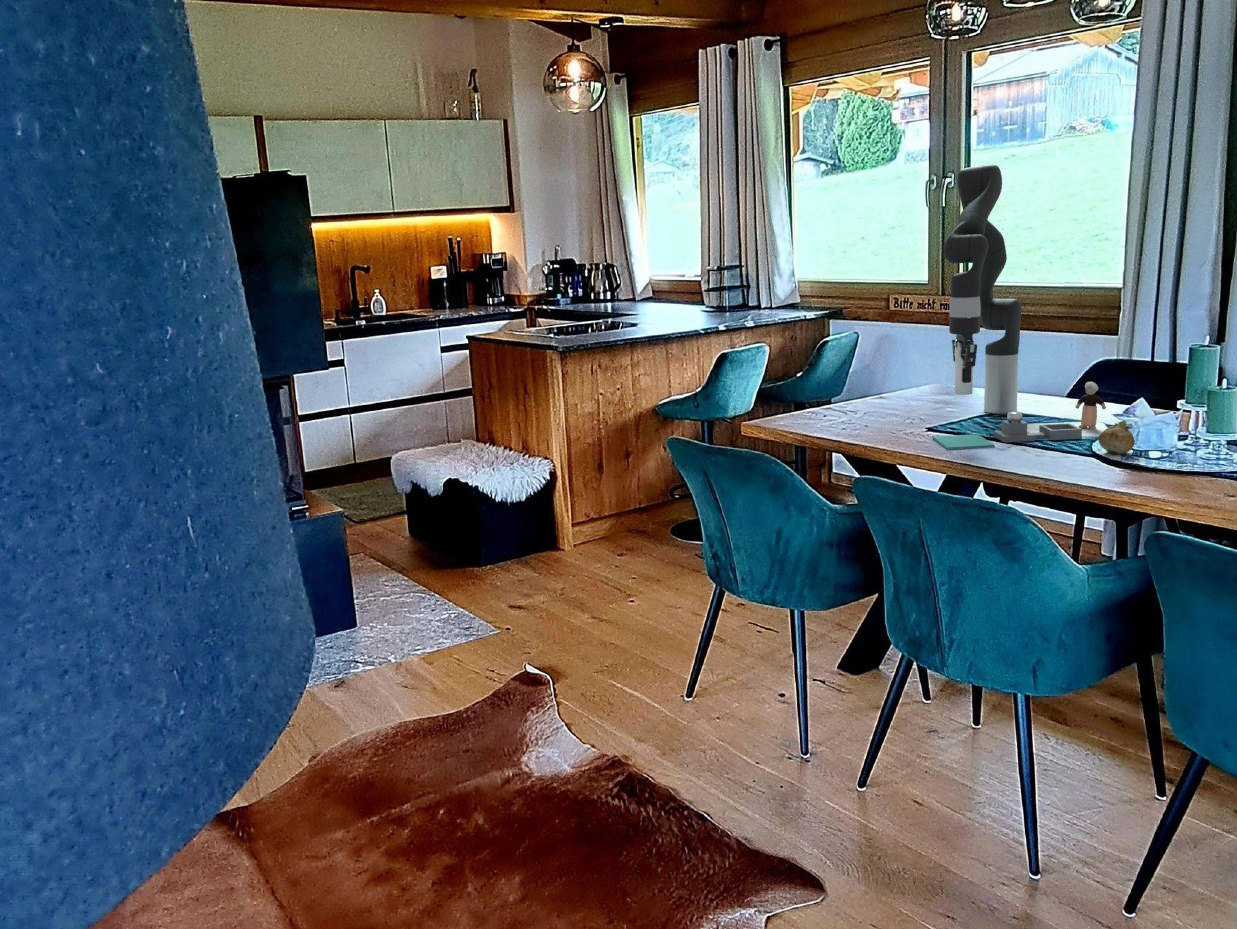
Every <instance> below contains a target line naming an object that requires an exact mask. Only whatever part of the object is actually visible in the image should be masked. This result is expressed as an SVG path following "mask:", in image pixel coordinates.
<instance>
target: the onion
mask: <svg viewBox="0 0 1237 929" xmlns="http://www.w3.org/2000/svg"><path fill="white" fill-rule="evenodd" d="M1126 423H1127V421H1126V420H1122V421H1118V422H1117V423H1114V424H1112V425H1111V426H1109V427H1107V428H1106V429H1104V430H1103V431H1102V432H1101V433H1100V434H1099V435H1098V443H1099V446H1101V448H1102V450H1105V451H1106V452H1107V453H1110V454H1111V453H1113V455H1123V454H1127V453H1129V452H1130V451H1131V450H1132V449H1133V448H1134V446H1135V444H1136V440H1135V437H1134V436H1133V433H1132V432H1131V431H1130V430H1131V429H1133V428H1134V424H1133V423H1127V424H1126Z"/></svg>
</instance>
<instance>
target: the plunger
mask: <svg viewBox="0 0 1237 929" xmlns="http://www.w3.org/2000/svg"><path fill="white" fill-rule="evenodd" d="M1006 414H1007V417H1006V420H1007V421H1011V423H1018V421H1022V420H1023V412H1022V411H1016V412H1008V413H1006Z"/></svg>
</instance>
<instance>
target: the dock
mask: <svg viewBox="0 0 1237 929" xmlns="http://www.w3.org/2000/svg"><path fill="white" fill-rule="evenodd" d="M1082 435H1083V428H1079V426H1076V425H1075V424H1072V423H1070V422H1069V423H1068V422H1067V423H1066V422H1065V423H1064V422H1063V423H1049V424H1048V423H1047V424H1046V423H1045V424H1039V426H1038V432H1030V431H1028V422H1026V421H1025V420H1023V419H1022V421H1018V423H1011V421H1007V419H1006V420H1005V419H1004V420H1003V419H1002V420H1001V430H993V437H994V438H995V439H997V440H999V441H1001V442H1002V443H1021V442H1023V443H1024V442H1035V441H1036V439H1037V440H1038V439H1039V440H1040V439H1047V440H1049V441H1056V440H1057V441H1058V440H1059V441H1060V440H1061V441H1062V440H1074V439H1075V440H1076V439H1082V438H1083V437H1082Z"/></svg>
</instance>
